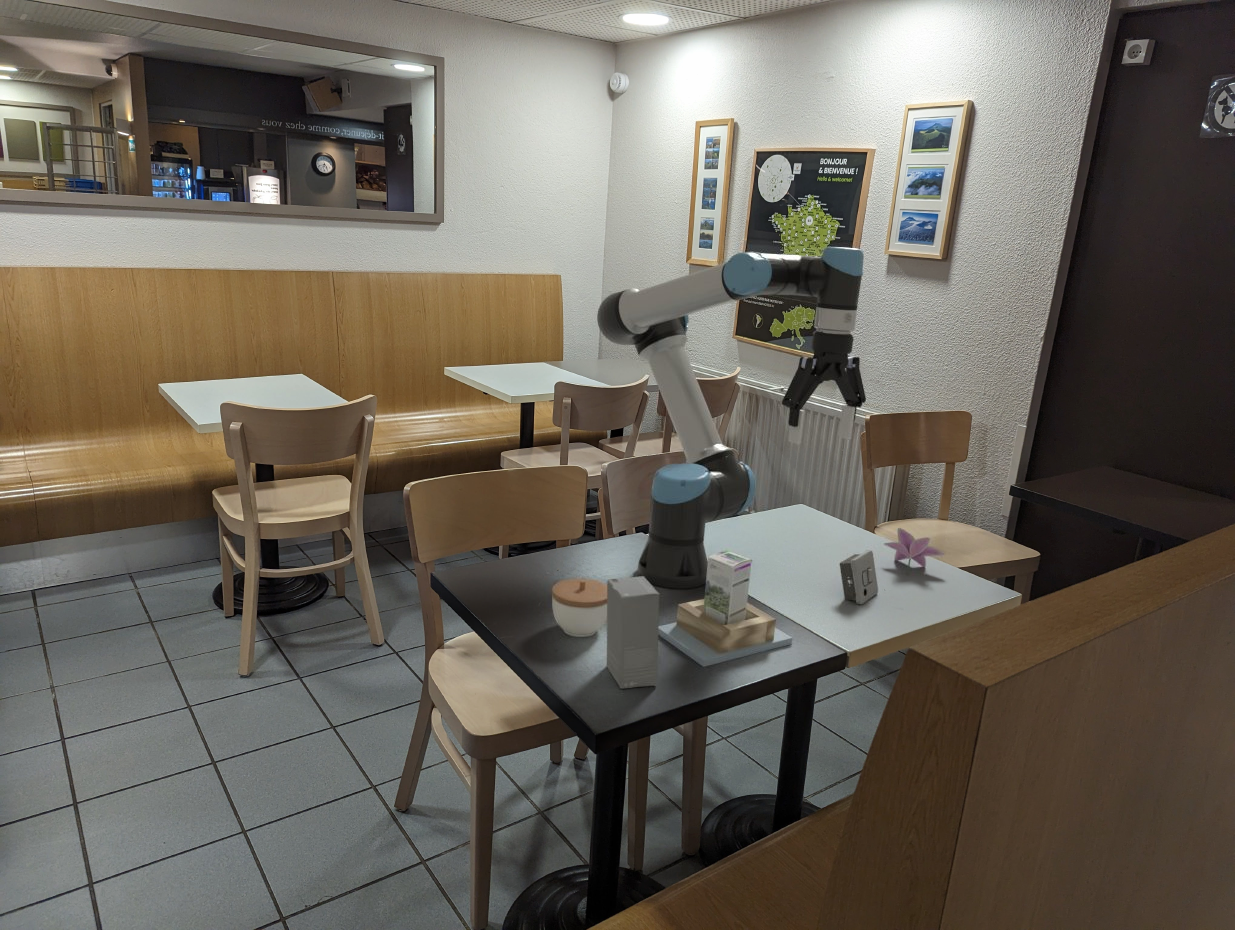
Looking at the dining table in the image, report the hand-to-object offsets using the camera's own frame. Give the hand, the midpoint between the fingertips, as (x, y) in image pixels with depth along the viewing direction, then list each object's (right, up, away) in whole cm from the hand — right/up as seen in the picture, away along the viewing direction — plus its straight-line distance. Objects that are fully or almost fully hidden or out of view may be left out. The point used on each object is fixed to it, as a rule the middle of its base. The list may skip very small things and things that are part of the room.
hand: (819, 440), depth 168 cm
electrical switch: (+10, -32, +10) cm, 35 cm away
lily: (+27, -29, +28) cm, 48 cm away
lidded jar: (-46, -35, -13) cm, 59 cm away
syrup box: (-21, -35, -14) cm, 43 cm away
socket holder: (-20, -36, -13) cm, 43 cm away
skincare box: (-38, -39, -29) cm, 61 cm away
